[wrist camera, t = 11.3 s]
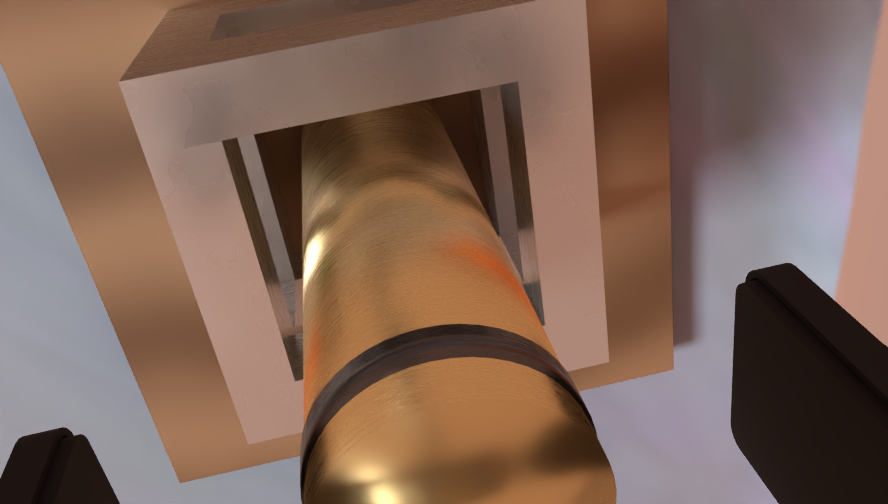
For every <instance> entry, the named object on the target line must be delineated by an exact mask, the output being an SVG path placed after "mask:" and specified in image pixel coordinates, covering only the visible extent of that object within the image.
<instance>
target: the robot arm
mask: <svg viewBox="0 0 888 504" xmlns="http://www.w3.org/2000/svg"><path fill="white" fill-rule="evenodd" d="M731 428H732V433H733V436H734V439H735V441H736V443H737V445H738V447H739V449H740V450H741V451H742V453H743V454H744V456H745V457H746V458H747V460H748V461H749V463H750V464H751V465H752V467H753V468H754V470H755V471H756V472H757V474H758V475H759V477H760V478H761V479H762V481H763V482H764V484H765V485H766V486H767V488H768V489H769V491H770V492H771V493H772V495H773V496H774V498H775V499H776V500H777V502H778V503H779V504H888V347H887V346H886V345H884V344H883V343H882V342H880V341H879V340H878V339H877V338H876V337H875V336H874V335H873V334H871V333H870V332H869V331H868V330H867V329H866V328H865V327H864V326H862V325H861V324H860V323H859V322H858V321H857V320H856V319H854V318H853V317H852V316H851V315H850V314H849V313H848V312H847V311H846V310H844V309H843V308H842V307H841V306H840V305H839V304H838V303H837V302H835V301H834V300H833V299H832V298H831V297H830V296H829V295H828V294H826V293H825V292H824V291H823V290H822V289H821V288H820V287H819V286H817V285H816V284H815V283H814V282H813V281H812V280H811V279H810V278H808V277H807V276H806V275H805V274H804V273H803V272H802V271H801V270H799V269H798V268H797V267H796V266H794V265H793V264H791V263H784V264H780V265H775V266H771V267H766V268H762V269H758V270H753V271H751V272H749V273H748V275H747V277H746V281H745V283H741V284H739V285H738V286H737V289H736V299H735V325H734V351H733V376H732V402H731ZM0 504H120V503H119V501H118V499H117V497H116V495H115V493H114V491H113V489H112V487H111V485H110V483H109V481H108V479H107V477H106V475H105V473H104V471H103V469H102V467H101V465H100V463H99V461H98V459H97V457H96V455H95V453H94V451H93V449H92V447H91V445H90V443H89V441H88V439H87V438H86V437H85V436H84V435H81V434H80V435H75V436H74V435H73V434H72V432H71V431H70V430H69V429H67V428H63V427H62V428H58V429H54V430H49V431H45V432H40V433H36V434H32V435H27V436H23V437H21V438H19V439H18V441H17V442H16V444H15V446H14V448H13V450H12V453H11V455H10V457H9V460H8V462H7V464H6V467H5V469H4V471H3V474H2V476H1V478H0Z"/></svg>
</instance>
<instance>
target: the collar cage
mask: <svg viewBox="0 0 888 504" xmlns="http://www.w3.org/2000/svg"><path fill="white" fill-rule="evenodd" d="M119 85H120V88H121V91H122V94H123V96H124V99H125V102H126V105H127V108H128V110H129V113H130V116H131V119H132V122H133V124H134V127H135V130H136V133H137V135H138V138H139V141H140V144H141V147H142V149H143V152H144V155H145V158H146V161H147V163H148V166H149V169H150V172H151V175H152V177H153V180H154V183H155V186H156V189H157V191H158V194H159V197H160V200H161V202H162V205H163V208H164V211H165V214H166V216H167V219H168V222H169V225H170V228H171V230H172V233H173V236H174V239H175V242H176V244H177V247H178V250H179V253H180V256H181V258H182V261H183V264H184V267H185V270H186V272H187V275H188V278H189V281H190V283H191V286H192V289H193V292H194V295H195V297H196V300H197V303H198V306H199V309H200V311H201V314H202V317H203V320H204V323H205V325H206V328H207V331H208V334H209V337H210V339H211V342H212V345H213V348H214V350H215V353H216V356H217V359H218V362H219V364H220V367H221V370H222V373H223V376H224V378H225V381H226V384H227V387H228V390H229V392H230V395H231V398H232V401H233V404H234V406H235V409H236V412H237V415H238V417H239V420H240V423H241V426H242V429H243V431H244V434H245V437H246V440H247V443H248V444H253V443H257V442H262V441H266V440H270V439H275V438H279V437H283V436H288V435H292V434H297V433H301V432H303V429H304V384H303V256H302V247H298V248H295V246H294V242H293V239H292V235H291V232H290V228H289V224H288V221H287V217H286V214H285V210H284V206H283V203H282V199H281V196H280V192H279V188H278V185H277V181H276V178H275V174H274V170H273V167H272V163H271V160H270V156H269V152H268V149H267V145H266V141H265V138H264V134H263V132H268V131H273V130H278V129H283V128H288V127H293V126H298V125H303V124H308V123H313V122H318V121H323V120H328V119H333V118H338V117H342V116H347V115H352V114H357V113H362V112H367V111H372V110H377V109H382V108H387V107H392V106H397V105H402V104H407V103H412V102H417V101H422V100H427V99H432V98H437V97H442V96H447V95H452V94H457V93H462V92H467V91H469V93H470V100H471V107H472V114H473V121H474V128H475V135H476V142H477V149H478V156H479V163H480V170H481V177H482V184H483V192H484V199H485V206H486V208H484V209H485V211H486V213H487V215H488V217H489V219H490V221H491V224H492V226H493V228H494V230H495V232H496V234H497V236H498V238H499V240H500V242H501V244H502V246H503V248H504V250H505V252H506V254H507V256H508V258H509V260H510V262H511V264H512V266H513V268H514V270H515V272H516V274H517V276H518V278H519V280H520V282H521V284H522V286H523V288H524V290H525V292H526V294H527V296H528V298H529V301H530V303H531V305H532V307H533V309H534V311H535V313H536V315H537V317H538V319H539V321H540V323H541V325H542V327H543V329H544V331H545V333H546V335H547V337H548V339H549V341H550V343H551V345H552V347H553V349H554V351H555V353H556V355H557V357H558V359H559V361H560V363H561V365H562V366H563V367H564V368H565V370H566V371H567V372H568V371H573V370H577V369H581V368H586V367H590V366H594V365H599V364H603V363H608V362H609V351H608V335H607V320H606V305H605V290H604V274H603V259H602V244H601V228H600V213H599V198H598V183H597V167H596V152H595V137H594V122H593V106H592V91H591V76H590V60H589V45H588V30H587V15H586V0H219V1H214V2H209V3H203V4H198V5H193V6H187V7H182V8H177V9H171V10H168V12H167V13H166V14H165V16H164V17H163V19H162V20H161V22H160V23H159V24H158V26H157V27H156V29H155V30H154V32H153V33H152V34H151V36H150V37H149V39H148V40H147V42H146V43H145V44H144V46H143V47H142V49H141V50H140V52H139V53H138V54H137V56H136V57H135V59H134V60H133V62H132V63H131V64H130V66H129V67H128V69H127V70H126V72H125V73H124V74H123V76H122V77H121V79H120V80H119Z"/></svg>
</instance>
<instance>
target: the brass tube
mask: <svg viewBox="0 0 888 504" xmlns="http://www.w3.org/2000/svg"><path fill="white" fill-rule="evenodd" d="M302 256H303V384H304V429H303V432H302V439H301V447H300V486H301V501H302V504H616V485H615V479H614V474H613V471H612V469H611V466H610V463H609V461H608V459H607V457H606V455H605V453H604V450H603V448H602V446H601V444H600V442H599V440H598V438H597V433H596V429H595V426H594V424H593V421H592V418H591V416H590V414H589V412H588V410H587V408H586V406H585V404H584V402H583V400H582V398H581V396H580V394H579V392H578V390H577V388H576V386H575V384H574V382H573V380H572V379H571V377H570V375H569V373H568V372H567V371H566V370H565V368H564V367H563V366H562V365H561V363H560V361H559V359H558V357H557V355H556V353H555V351H554V349H553V347H552V345H551V343H550V341H549V339H548V337H547V335H546V333H545V331H544V329H543V327H542V325H541V323H540V321H539V319H538V317H537V315H536V313H535V311H534V309H533V307H532V305H531V303H530V301H529V298H528V296H527V294H526V292H525V290H524V288H523V286H522V284H521V282H520V280H519V278H518V276H517V274H516V272H515V270H514V268H513V266H512V264H511V262H510V260H509V258H508V256H507V254H506V252H505V250H504V248H503V246H502V244H501V242H500V240H499V238H498V236H497V234H496V232H495V230H494V228H493V226H492V224H491V221H490V219H489V217H488V215H487V213H486V211H485V209H484V207H483V205H482V203H481V201H480V199H479V197H478V195H477V193H476V191H475V189H474V187H473V185H472V183H471V181H470V179H469V177H468V175H467V173H466V171H465V169H464V167H463V165H462V163H461V161H460V159H459V157H458V155H457V153H456V151H455V149H454V147H453V144H452V142H451V140H450V138H449V136H448V134H447V132H446V130H445V128H444V126H443V124H442V122H441V120H440V118H439V116H438V114H437V112H436V110H435V108H434V106H433V104H432V102H431V101H430V99H427V100H422V101H417V102H412V103H407V104H402V105H397V106H392V107H387V108H382V109H377V110H372V111H367V112H362V113H357V114H352V115H347V116H342V117H338V118H333V119H328V120H323V121H318V122H313V123H308V124H303V125H302Z"/></svg>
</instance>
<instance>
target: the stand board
mask: <svg viewBox="0 0 888 504" xmlns="http://www.w3.org/2000/svg"><path fill="white" fill-rule="evenodd" d="M214 1H219V0H0V62H1V64H2V66H3V69H4V71H5V73H6V76H7V78H8V80H9V83H10V85H11V88H12V90H13V92H14V95H15V97H16V99H17V102H18V104H19V106H20V109H21V111H22V113H23V116H24V118H25V120H26V123H27V125H28V127H29V130H30V132H31V135H32V137H33V139H34V142H35V144H36V146H37V149H38V151H39V153H40V156H41V158H42V160H43V163H44V165H45V167H46V170H47V172H48V174H49V177H50V179H51V181H52V184H53V186H54V189H55V191H56V193H57V196H58V198H59V200H60V203H61V205H62V207H63V210H64V212H65V214H66V217H67V219H68V221H69V224H70V226H71V228H72V231H73V233H74V235H75V238H76V240H77V243H78V245H79V247H80V250H81V252H82V254H83V257H84V259H85V261H86V264H87V266H88V268H89V271H90V273H91V275H92V278H93V280H94V282H95V285H96V287H97V289H98V292H99V294H100V297H101V299H102V301H103V304H104V306H105V308H106V311H107V313H108V315H109V318H110V320H111V322H112V325H113V327H114V329H115V332H116V334H117V336H118V339H119V341H120V344H121V346H122V348H123V351H124V353H125V355H126V358H127V360H128V362H129V365H130V367H131V369H132V372H133V374H134V376H135V379H136V381H137V383H138V386H139V388H140V390H141V393H142V395H143V398H144V400H145V402H146V405H147V407H148V409H149V412H150V414H151V416H152V419H153V421H154V423H155V426H156V428H157V430H158V433H159V435H160V437H161V440H162V442H163V444H164V447H165V449H166V452H167V454H168V456H169V459H170V461H171V463H172V466H173V468H174V470H175V473H176V475H177V477H178V480H179V482H180V483H183V482H187V481H191V480H196V479H200V478H204V477H209V476H213V475H217V474H222V473H226V472H230V471H235V470H239V469H243V468H248V467H252V466H256V465H261V464H265V463H269V462H274V461H278V460H283V459H287V458H291V457H296V456H300V447H301V439H302V432H301V433H297V434H292V435H288V436H283V437H279V438H275V439H270V440H266V441H262V442H257V443H253V444H248V443H247V440H246V437H245V434H244V431H243V429H242V426H241V423H240V420H239V417H238V415H237V412H236V409H235V406H234V404H233V401H232V398H231V395H230V392H229V390H228V387H227V384H226V381H225V378H224V376H223V373H222V370H221V367H220V364H219V362H218V359H217V356H216V353H215V350H214V348H213V345H212V342H211V339H210V337H209V334H208V331H207V328H206V325H205V323H204V320H203V317H202V314H201V311H200V309H199V306H198V303H197V300H196V297H195V295H194V292H193V289H192V286H191V283H190V281H189V278H188V275H187V272H186V270H185V267H184V264H183V261H182V258H181V256H180V253H179V250H178V247H177V244H176V242H175V239H174V236H173V233H172V230H171V228H170V225H169V222H168V219H167V216H166V214H165V211H164V208H163V205H162V202H161V200H160V197H159V194H158V191H157V189H156V186H155V183H154V180H153V177H152V175H151V172H150V169H149V166H148V163H147V161H146V158H145V155H144V152H143V149H142V147H141V144H140V141H139V138H138V135H137V133H136V130H135V127H134V124H133V122H132V119H131V116H130V113H129V110H128V108H127V105H126V102H125V99H124V96H123V94H122V91H121V88H120V85H119V80H120V79H121V77H122V76H123V74H124V73H125V72H126V70H127V69H128V67H129V66H130V64H131V63H132V62H133V60H134V59H135V57H136V56H137V54H138V53H139V52H140V50H141V49H142V47H143V46H144V44H145V43H146V42H147V40H148V39H149V37H150V36H151V34H152V33H153V32H154V30H155V29H156V27H157V26H158V24H159V23H160V22H161V20H162V19H163V17H164V16H165V14H166V13H167V12H168V10H171V9H177V8H182V7H187V6H193V5H198V4H203V3H209V2H214ZM586 15H587V30H588V45H589V60H590V76H591V91H592V106H593V122H594V137H595V152H596V167H597V183H598V198H599V213H600V228H601V244H602V259H603V274H604V290H605V305H606V320H607V335H608V351H609V362H608V363H603V364H599V365H594V366H590V367H586V368H581V369H577V370H573V371H568V373H569V375H570V377H571V379H572V380H573V382H574V384H575V386H576V388H577V390H578V391H582V390H586V389H591V388H595V387H600V386H604V385H608V384H613V383H617V382H621V381H626V380H630V379H634V378H639V377H643V376H647V375H652V374H656V373H660V372H665V371H669V370H673V369H674V360H673V302H672V244H671V186H670V129H669V71H668V13H667V0H586ZM430 101H431V102H432V104H433V106H434V108H435V110H436V112H437V114H438V116H439V118H440V120H441V122H442V124H443V126H444V128H445V130H446V132H447V134H448V136H449V138H450V140H451V142H452V144H453V147H454V149H455V151H456V153H457V155H458V157H459V159H460V161H461V163H462V165H463V167H464V169H465V171H466V173H467V175H468V177H469V179H470V181H471V183H472V185H473V187H474V189H475V191H476V193H477V195H478V197H479V199H480V201H481V203H482V205H483V207H484V208H486V206H485V199H484V192H483V184H482V177H481V170H480V163H479V156H478V149H477V142H476V135H475V128H474V121H473V114H472V107H471V100H470V93H469V91H467V92H462V93H457V94H452V95H447V96H442V97H437V98H432V99H430ZM263 134H264V138H265V141H266V145H267V149H268V152H269V156H270V160H271V163H272V167H273V170H274V174H275V178H276V181H277V185H278V188H279V192H280V196H281V199H282V203H283V206H284V210H285V214H286V217H287V221H288V224H289V228H290V232H291V235H292V239H293V242H294V246H295V248H298V247H302V125H298V126H293V127H288V128H283V129H278V130H273V131H268V132H263Z"/></svg>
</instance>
